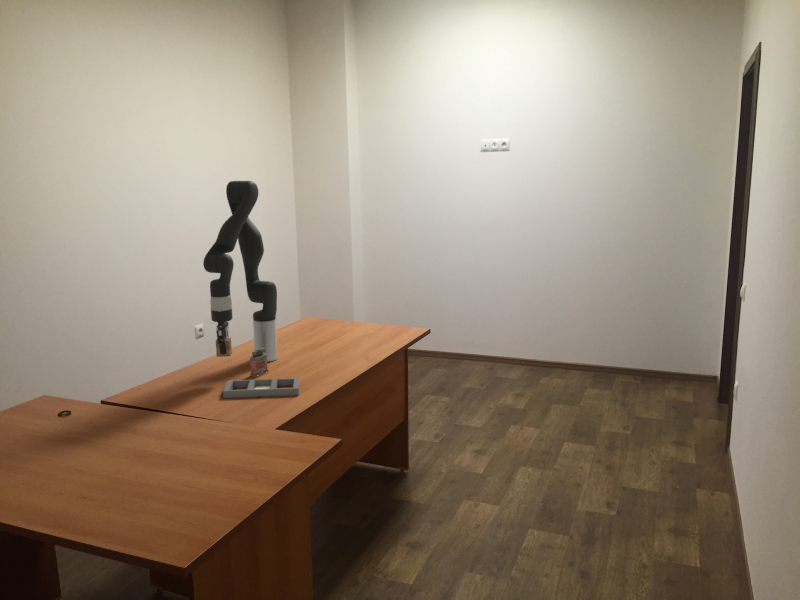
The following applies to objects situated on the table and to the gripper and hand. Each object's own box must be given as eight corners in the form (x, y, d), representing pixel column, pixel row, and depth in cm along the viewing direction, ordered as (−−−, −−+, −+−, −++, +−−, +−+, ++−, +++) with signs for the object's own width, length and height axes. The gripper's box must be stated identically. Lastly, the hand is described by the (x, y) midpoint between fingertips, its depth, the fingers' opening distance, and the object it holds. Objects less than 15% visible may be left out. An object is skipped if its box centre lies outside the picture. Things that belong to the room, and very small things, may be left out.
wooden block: (218, 353, 241) (217, 338, 240) (231, 353, 242) (230, 337, 240) (216, 356, 237) (215, 341, 236) (230, 356, 238) (229, 340, 237)
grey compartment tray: (228, 387, 235) (227, 380, 234) (299, 384, 238) (299, 377, 237) (223, 398, 223) (223, 391, 223) (298, 395, 226) (298, 388, 226)
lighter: (254, 377, 245) (253, 352, 243) (248, 375, 247) (247, 350, 245) (270, 372, 252) (269, 347, 250) (264, 370, 254) (263, 346, 252)
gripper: (213, 303, 242) (216, 347, 246) (207, 312, 228) (210, 358, 232) (234, 303, 243) (236, 346, 247) (229, 311, 229) (232, 357, 233)
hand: (224, 352), depth 239 cm, fingers closed on wooden block, 4 cm apart
